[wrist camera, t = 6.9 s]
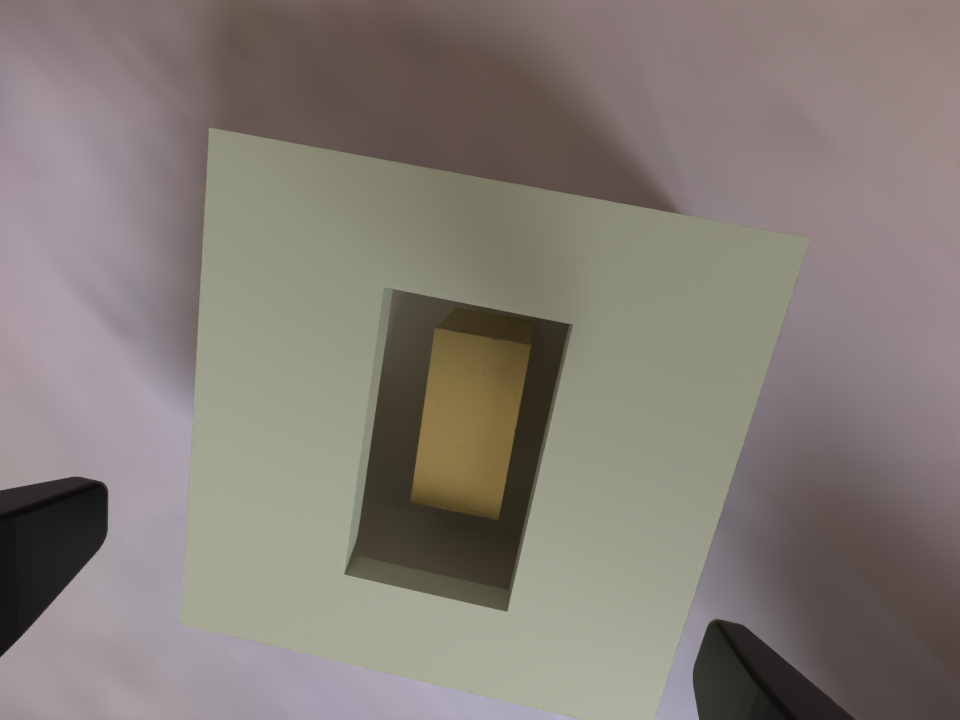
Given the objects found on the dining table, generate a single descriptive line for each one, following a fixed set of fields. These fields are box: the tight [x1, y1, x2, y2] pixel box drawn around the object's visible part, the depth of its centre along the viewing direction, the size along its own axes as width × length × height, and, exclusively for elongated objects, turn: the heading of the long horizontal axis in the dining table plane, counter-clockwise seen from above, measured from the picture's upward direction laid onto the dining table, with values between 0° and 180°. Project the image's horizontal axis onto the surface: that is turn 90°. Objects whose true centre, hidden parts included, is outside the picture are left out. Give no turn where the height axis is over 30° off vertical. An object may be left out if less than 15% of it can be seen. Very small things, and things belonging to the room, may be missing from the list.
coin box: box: [181, 127, 810, 720], centre depth 15 cm, size 12×12×7 cm
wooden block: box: [410, 308, 532, 520], centre depth 16 cm, size 2×5×4 cm, turn 171°
